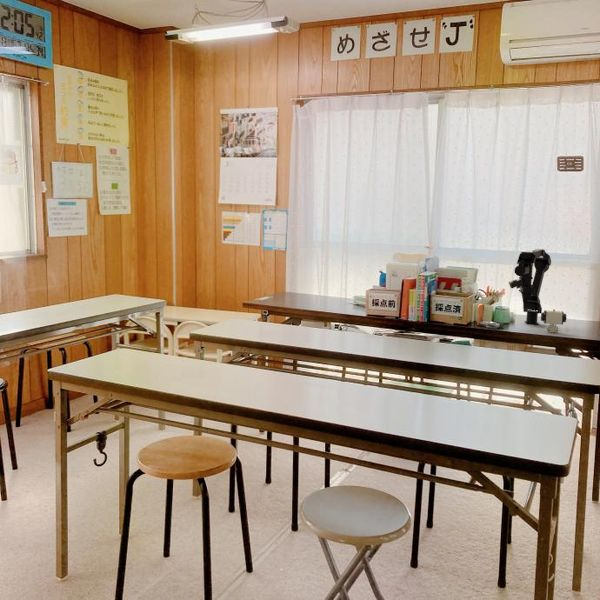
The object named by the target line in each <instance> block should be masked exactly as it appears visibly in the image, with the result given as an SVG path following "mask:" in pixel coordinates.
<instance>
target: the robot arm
mask: <svg viewBox="0 0 600 600" xmlns="http://www.w3.org/2000/svg"><path fill="white" fill-rule="evenodd" d="M516 264H517V265H516V267H514V270H513V271H514V274H515V275H516V276H518V279H513V280H511V281H508V285H509V288H511V289H515V288H516V289H518V292H519V293H520V294H521V299H522V308H523V309H522V310H523V313H526V320H524V323H525V322H526V324H528V325H539V324H540V323H539V322H538V316H539V315H538V314H541V313H543V312H542V311H543V307H542V305H541V299H540V292H541V288H542V284H543V281H544V280H543V279H544V276H545V273H547V271H549V269H550V266H551V265H552V258H551V255H550V254H548V253H547V252H546V250H545V249H543V248H535V249H533V250H522V251H521V252H520V253H519V255H518V259H517V262H516ZM533 266H534V267H533ZM533 268H535V272H534V276H533V270H534V269H533Z"/></svg>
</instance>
